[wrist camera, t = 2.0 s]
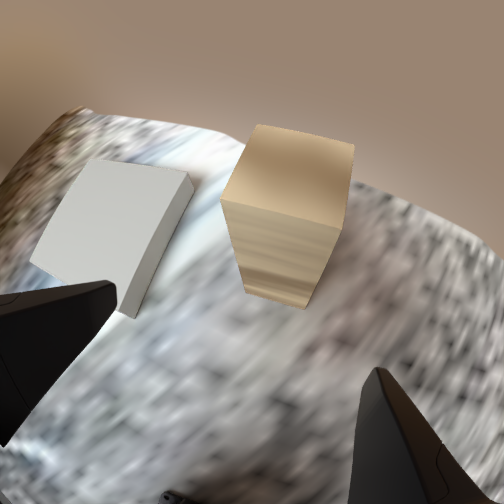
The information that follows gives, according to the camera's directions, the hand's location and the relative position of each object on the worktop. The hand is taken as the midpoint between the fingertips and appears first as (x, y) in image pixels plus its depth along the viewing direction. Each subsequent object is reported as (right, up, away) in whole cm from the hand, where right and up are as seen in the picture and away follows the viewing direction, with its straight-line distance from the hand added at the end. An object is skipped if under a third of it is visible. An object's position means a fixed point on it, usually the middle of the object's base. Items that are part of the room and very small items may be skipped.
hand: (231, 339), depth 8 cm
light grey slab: (-14, +5, +18) cm, 24 cm away
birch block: (+3, +1, +15) cm, 16 cm away
